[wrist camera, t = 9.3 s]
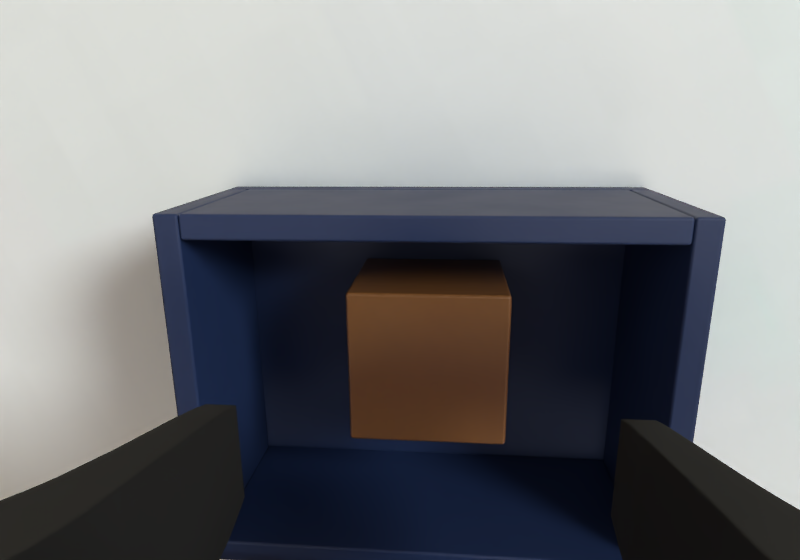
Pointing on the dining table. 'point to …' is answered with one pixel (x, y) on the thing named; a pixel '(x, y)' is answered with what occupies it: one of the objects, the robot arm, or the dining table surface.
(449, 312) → the block
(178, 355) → the case
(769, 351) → the dining table surface
